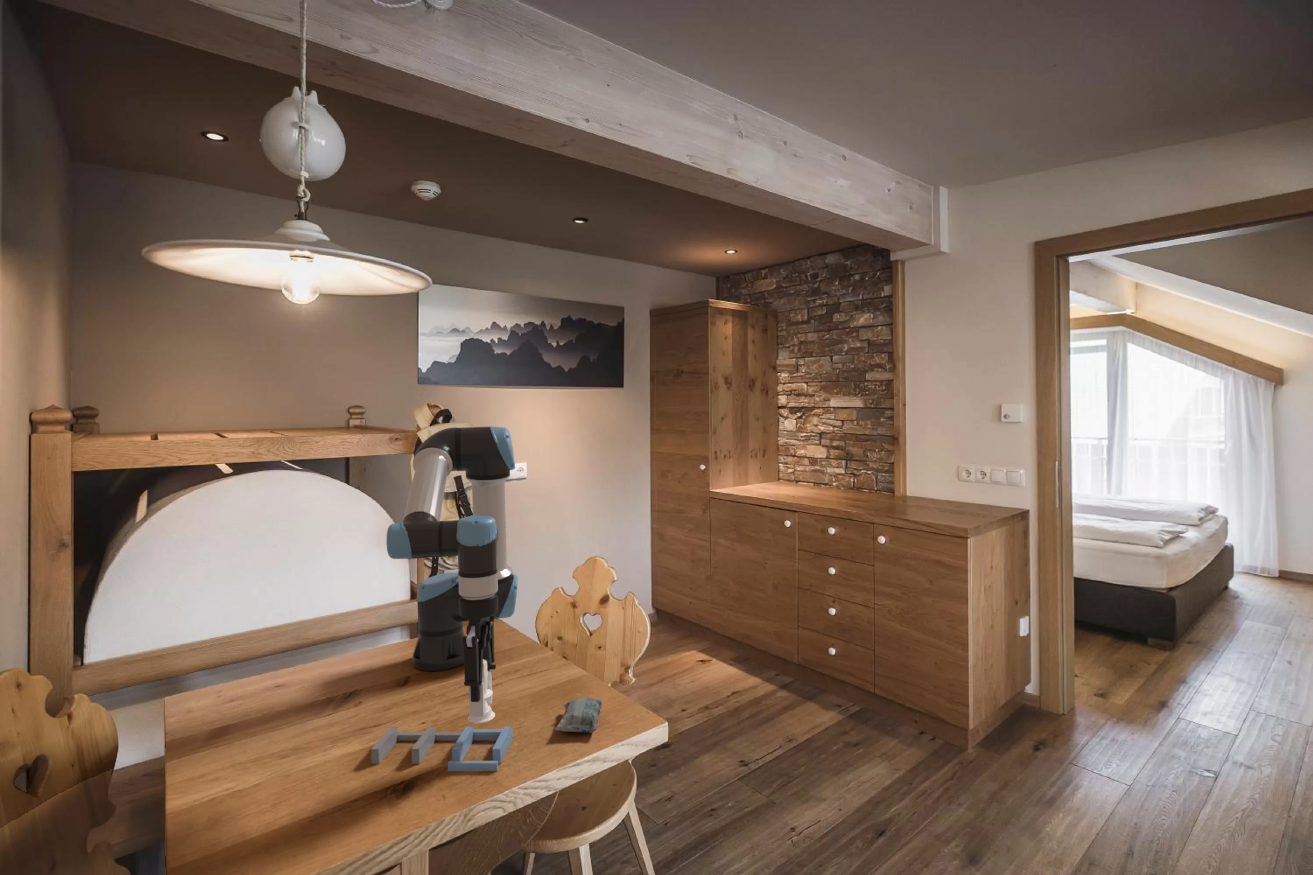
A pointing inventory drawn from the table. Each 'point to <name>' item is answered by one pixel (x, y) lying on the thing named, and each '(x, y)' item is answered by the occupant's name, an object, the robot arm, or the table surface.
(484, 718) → the candle
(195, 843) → the table surface
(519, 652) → the table surface
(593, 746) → the table surface
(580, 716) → the packaged food
